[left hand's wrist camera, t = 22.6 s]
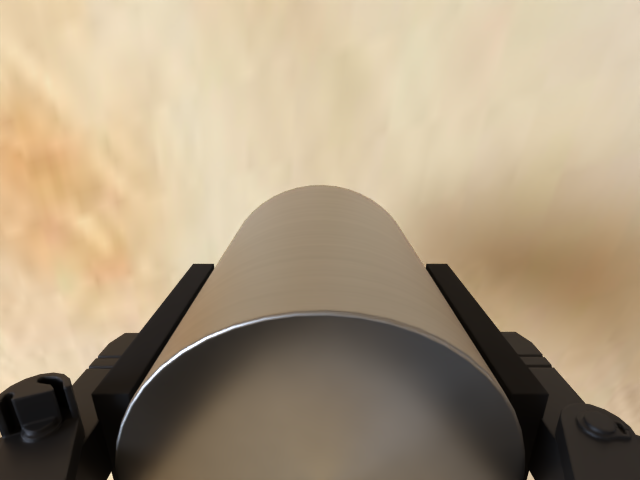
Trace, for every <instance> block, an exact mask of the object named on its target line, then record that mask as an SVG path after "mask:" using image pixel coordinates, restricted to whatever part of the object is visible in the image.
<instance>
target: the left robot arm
mask: <svg viewBox="0 0 640 480" xmlns="http://www.w3.org/2000/svg"><path fill="white" fill-rule="evenodd" d="M213 270H214V264H193V265H192V266H191V267H190V269H189V270H188V271H187V272H186V274H185V275H184V276H183V278H182V279H181V280H180V281H179V283H178V284H177V285H176V287H175V288H174V289H173V290H172V292H171V293H170V294H169V295H168V297H167V298H166V299H165V301H164V302H163V303H162V304H161V306H160V307H159V308H158V309H157V311H156V312H155V313H154V315H153V316H152V317H151V318H150V320H149V321H148V322H147V324H146V325H145V326H144V327H143V329H142V330H141V331H140V332H139V333H124V334H123V335H121V336H120V337H118V338H117V339H115V340H114V341H112V342H111V343H109V344H108V345H107V346H106V348H105V349H104V350H103V351H102V352H101V353H100V354H99V356H98V358H96V359H95V360H94V361H93V362H92V364H91V365H90V366H89V369H86V370H85V372H84V373H83V374H82V375H81V376H80V377H79V378H78V380H77V381H76V382H75V383H74V384H73V385H72V384H71V381H70V378H68V377H67V376H66V375H64V374H59V373H47V374H39V375H36V376H33V377H30V378H27V379H24V380H22V381H20V382H18V383H16V384H14V385H12V386H10V387H9V388H7V389H6V390H5V391H3V392H2V393H1V394H0V432H1V435H2V437H1V438H0V480H107V478H108V477H109V475H110V473H111V471H112V475H113V479H114V480H117V476H116V468H115V457H116V441H117V437H118V433H119V429H120V425H121V421H122V419H123V417H124V414H125V412H126V410H127V408H128V406H129V403H130V401H131V400H132V398H133V396H134V395H135V393H136V392H137V390H138V389H139V387H140V385H141V384H142V382H143V381H144V379H145V377H146V376H147V374H148V373H149V371H150V370H151V368H152V366H153V365H154V363H155V362H156V360H157V359H158V357H159V355H160V354H161V352H162V351H163V349H164V347H165V346H166V344H167V343H168V341H169V340H170V338H171V336H172V335H173V333H174V332H175V330H176V328H177V327H178V325H179V324H180V322H181V321H182V319H183V317H184V316H185V314H186V313H187V311H188V309H189V308H190V306H191V305H192V303H193V302H194V300H195V298H196V297H197V295H198V294H199V292H200V291H201V289H202V287H203V286H204V284H205V283H206V281H207V279H208V278H209V276H210V275H211V273H212V272H213ZM426 270H427V271H428V273H429V275H430V276H431V278H432V279H433V281H434V282H435V284H436V286H437V287H438V289H439V290H440V292H441V293H442V295H443V297H444V298H445V300H446V301H447V303H448V304H449V306H450V308H451V309H452V311H453V312H454V314H455V315H456V317H457V319H458V320H459V322H460V323H461V325H462V326H463V328H464V330H465V331H466V333H467V334H468V336H469V337H470V339H471V341H472V342H473V344H474V345H475V347H476V349H477V350H478V352H479V353H480V355H481V356H482V358H483V360H484V361H485V363H486V364H487V366H488V367H489V369H490V371H491V372H492V374H493V375H494V377H495V378H496V380H497V382H498V383H499V385H500V386H501V388H502V389H503V391H504V393H505V395H506V396H507V398H508V400H509V402H510V403H511V405H512V407H513V409H514V410H515V413H516V416H517V419H518V422H519V424H520V427H521V430H522V436H523V442H524V449H525V472H524V478H523V480H527V476H528V473H529V471H530V472H531V474H532V476H533V478H534V479H535V480H640V436H638V435H635V433H634V432H633V430H632V429H631V427H630V426H628V425H627V424H626V423H625V422H624V421H622V420H621V419H620V418H619V417H617V416H615V415H614V414H612V413H610V412H608V411H606V410H605V409H602V408H599V407H596V406H593V405H590V404H585V403H584V401H583V400H582V399H581V398H580V397H579V396H578V395H577V393H576V392H575V391H574V390H573V389H572V388H571V387H570V385H569V384H568V383H567V382H566V381H565V380H564V379H563V378H562V376H561V375H560V374H559V373H558V372H557V371H556V370H555V368H552V366H551V364H550V363H549V362H548V360H547V359H546V358H545V357H543V356H542V354H541V353H540V351H539V350H538V349H537V348H536V347H535V346H534V345H533V343H532V342H530V341H529V340H527V339H526V338H524V337H522V336H521V335H519V334H518V333H516V332H500V331H499V330H498V328H497V327H496V326H495V325H494V323H493V322H492V321H491V319H490V318H489V317H488V316H487V314H486V313H485V312H484V310H483V309H482V308H481V307H480V305H479V304H478V303H477V302H476V300H475V299H474V298H473V296H472V295H471V294H470V293H469V291H468V290H467V289H466V288H465V286H464V285H463V284H462V282H461V281H460V280H459V279H458V277H457V276H456V275H455V273H454V272H453V271H452V270H451V268H450V267H449V266H448V265H447V264H426Z"/></svg>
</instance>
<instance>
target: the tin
mask: <svg viewBox="0 0 640 480" xmlns="http://www.w3.org/2000/svg"><path fill="white" fill-rule="evenodd" d="M115 468H116V476H117V480H523V478H524V472H525V449H524V442H523V436H522V430H521V427H520V424H519V422H518V419H517V416H516V413H515V410H514V409H513V407H512V405H511V403H510V402H509V400H508V398H507V396H506V395H505V393H504V391H503V389H502V388H501V386H500V385H499V383H498V382H497V380H496V378H495V377H494V375H493V374H492V372H491V371H490V369H489V367H488V366H487V364H486V363H485V361H484V360H483V358H482V356H481V355H480V353H479V352H478V350H477V349H476V347H475V345H474V344H473V342H472V341H471V339H470V337H469V336H468V334H467V333H466V331H465V330H464V328H463V326H462V325H461V323H460V322H459V320H458V319H457V317H456V315H455V314H454V312H453V311H452V309H451V308H450V306H449V304H448V303H447V301H446V300H445V298H444V297H443V295H442V293H441V292H440V290H439V289H438V287H437V286H436V284H435V282H434V281H433V279H432V278H431V276H430V275H429V273H428V271H427V270H426V268H425V267H424V265H423V264H422V262H421V260H420V259H419V257H418V256H417V254H416V252H415V251H414V249H413V248H412V246H411V245H410V243H409V241H408V240H407V238H406V237H405V235H404V234H403V232H402V230H401V229H400V227H399V226H398V224H397V223H396V222H395V220H394V219H393V218H392V217H391V215H390V214H389V213H388V212H386V211H385V210H384V209H383V208H382V207H381V206H380V205H378V204H377V203H376V202H374V201H373V200H371V199H369V198H367V197H366V196H364V195H362V194H360V193H357V192H354V191H352V190H349V189H345V188H341V187H336V186H326V185H315V186H305V187H299V188H295V189H292V190H288V191H285V192H283V193H281V194H278V195H276V196H274V197H272V198H271V199H269V200H267V201H266V202H264V203H263V204H261V205H260V206H259V207H258V208H257V209H256V210H254V211H253V212H252V213H251V215H250V216H249V217H248V218H247V219H246V220H245V221H244V223H243V224H242V226H241V227H240V229H239V230H238V232H237V234H236V235H235V237H234V238H233V240H232V242H231V243H230V245H229V246H228V248H227V249H226V251H225V253H224V254H223V256H222V257H221V259H220V260H219V262H218V264H217V265H216V267H215V268H214V270H213V272H212V273H211V275H210V276H209V278H208V279H207V281H206V283H205V284H204V286H203V287H202V289H201V291H200V292H199V294H198V295H197V297H196V298H195V300H194V302H193V303H192V305H191V306H190V308H189V309H188V311H187V313H186V314H185V316H184V317H183V319H182V321H181V322H180V324H179V325H178V327H177V328H176V330H175V332H174V333H173V335H172V336H171V338H170V340H169V341H168V343H167V344H166V346H165V347H164V349H163V351H162V352H161V354H160V355H159V357H158V359H157V360H156V362H155V363H154V365H153V366H152V368H151V370H150V371H149V373H148V374H147V376H146V377H145V379H144V381H143V382H142V384H141V385H140V387H139V389H138V390H137V392H136V393H135V395H134V396H133V398H132V400H131V401H130V403H129V406H128V408H127V410H126V412H125V414H124V417H123V419H122V421H121V425H120V429H119V433H118V437H117V441H116V457H115Z"/></svg>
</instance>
